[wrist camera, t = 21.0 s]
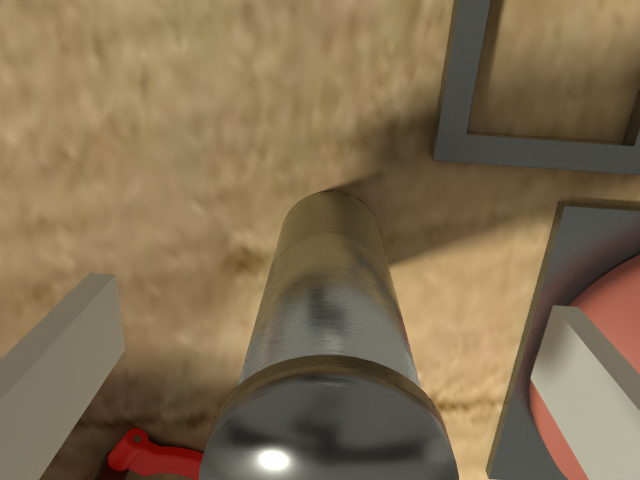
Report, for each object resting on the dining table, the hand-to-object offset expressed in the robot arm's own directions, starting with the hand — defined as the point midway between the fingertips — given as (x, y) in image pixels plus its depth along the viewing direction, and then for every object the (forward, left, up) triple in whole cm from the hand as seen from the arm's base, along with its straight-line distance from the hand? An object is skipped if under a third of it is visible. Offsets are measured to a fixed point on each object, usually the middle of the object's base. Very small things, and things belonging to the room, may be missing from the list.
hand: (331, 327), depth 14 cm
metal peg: (+1, 0, -9) cm, 9 cm away
